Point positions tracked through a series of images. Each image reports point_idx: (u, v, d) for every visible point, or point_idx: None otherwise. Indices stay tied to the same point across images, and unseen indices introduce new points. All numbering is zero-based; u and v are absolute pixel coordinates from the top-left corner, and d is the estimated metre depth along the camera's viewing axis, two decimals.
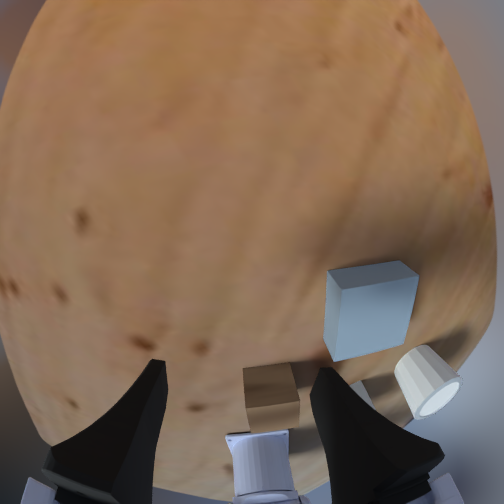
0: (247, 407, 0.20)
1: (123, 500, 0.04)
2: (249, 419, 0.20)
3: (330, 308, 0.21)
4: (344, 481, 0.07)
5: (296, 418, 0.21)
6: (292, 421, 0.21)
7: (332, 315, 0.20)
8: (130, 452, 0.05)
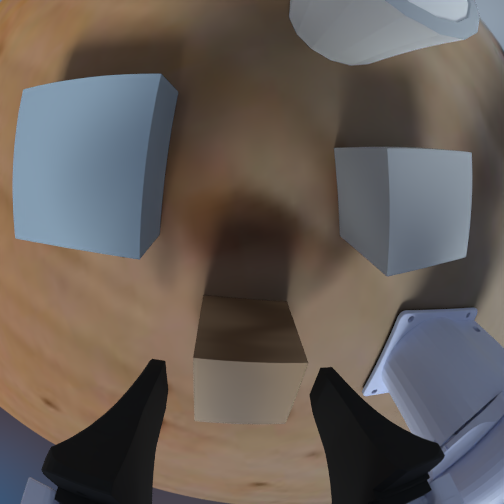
0: (195, 417, 0.11)
1: (123, 500, 0.04)
2: (232, 422, 0.11)
3: None
4: (344, 481, 0.07)
5: (266, 367, 0.10)
6: (274, 374, 0.10)
7: None
8: (130, 452, 0.05)
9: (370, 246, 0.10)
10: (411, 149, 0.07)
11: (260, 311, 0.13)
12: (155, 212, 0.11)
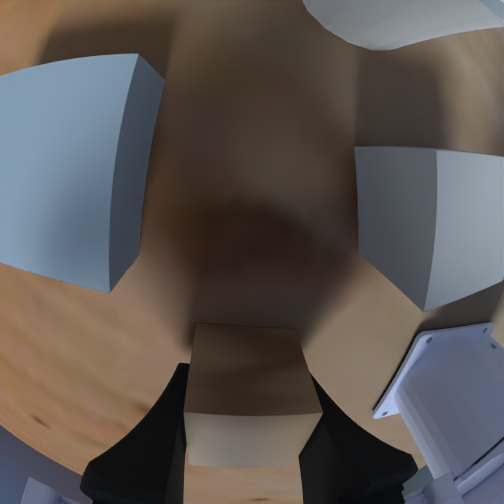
0: None
1: None
2: (232, 466, 0.09)
3: None
4: (313, 487, 0.07)
5: (272, 419, 0.07)
6: (281, 425, 0.08)
7: None
8: (173, 460, 0.06)
9: (402, 272, 0.08)
10: (461, 153, 0.05)
11: (264, 344, 0.11)
12: (132, 230, 0.09)
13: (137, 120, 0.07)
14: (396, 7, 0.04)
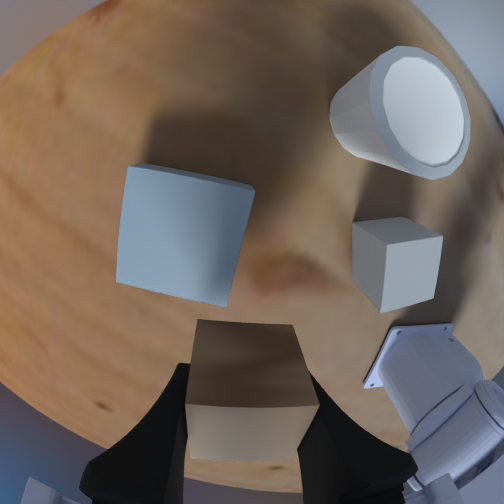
0: None
1: None
2: (232, 459, 0.09)
3: None
4: (314, 487, 0.07)
5: (270, 411, 0.08)
6: (280, 417, 0.08)
7: None
8: (172, 460, 0.06)
9: (371, 293, 0.16)
10: (401, 242, 0.14)
11: (263, 339, 0.11)
12: None
13: None
14: (383, 163, 0.13)
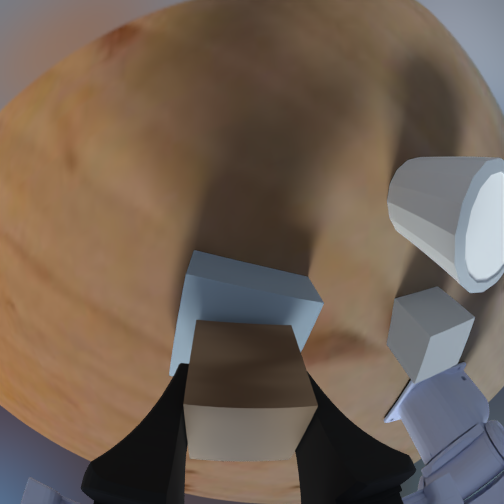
0: None
1: None
2: (231, 460, 0.09)
3: None
4: (311, 487, 0.07)
5: (268, 412, 0.08)
6: (278, 418, 0.08)
7: None
8: (174, 460, 0.06)
9: (407, 366, 0.16)
10: (442, 331, 0.13)
11: (261, 340, 0.11)
12: None
13: None
14: None
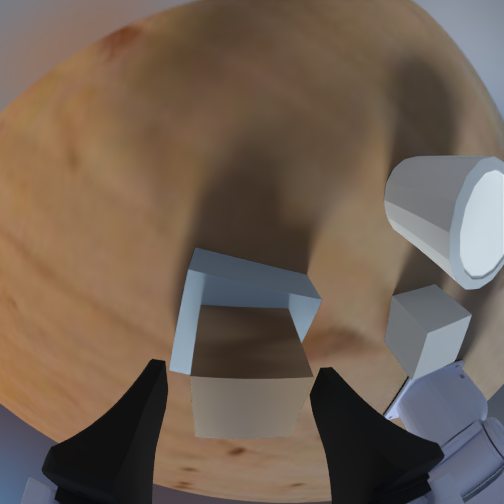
0: (196, 433, 0.10)
1: (123, 500, 0.04)
2: (235, 437, 0.10)
3: None
4: (344, 481, 0.07)
5: (268, 383, 0.09)
6: (277, 389, 0.09)
7: None
8: (130, 452, 0.05)
9: (405, 362, 0.16)
10: (439, 328, 0.14)
11: (261, 321, 0.12)
12: None
13: None
14: None
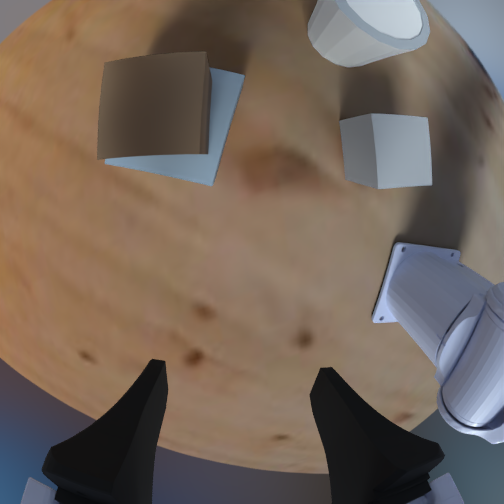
0: (98, 156, 0.10)
1: (123, 500, 0.04)
2: (135, 153, 0.10)
3: None
4: (344, 481, 0.07)
5: (165, 58, 0.08)
6: (173, 66, 0.09)
7: None
8: (130, 452, 0.05)
9: (366, 175, 0.15)
10: (385, 114, 0.13)
11: None
12: (219, 162, 0.17)
13: (235, 106, 0.15)
14: (355, 49, 0.12)
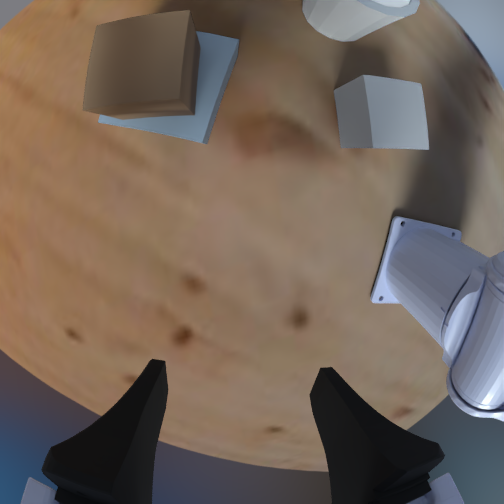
0: (84, 107, 0.09)
1: (123, 500, 0.04)
2: (118, 101, 0.09)
3: (146, 130, 0.16)
4: (344, 481, 0.07)
5: (151, 18, 0.08)
6: (159, 23, 0.08)
7: None
8: (130, 452, 0.05)
9: (361, 138, 0.15)
10: (378, 77, 0.12)
11: None
12: (211, 124, 0.16)
13: (229, 69, 0.14)
14: (347, 19, 0.11)
